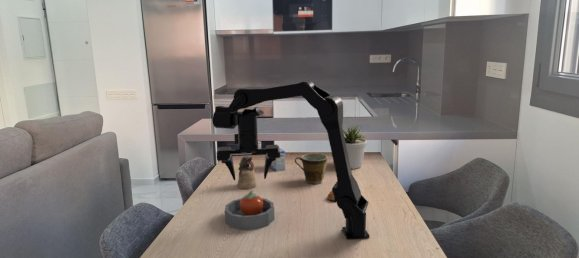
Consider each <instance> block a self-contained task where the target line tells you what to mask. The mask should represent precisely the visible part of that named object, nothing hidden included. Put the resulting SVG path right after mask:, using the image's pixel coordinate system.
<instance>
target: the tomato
mask: <svg viewBox="0 0 579 258" xmlns="http://www.w3.org/2000/svg"><path fill="white" fill-rule="evenodd" d="M262 198H263V197H261V196H260V195H257V194H256V193H254V192H253V191H251V190H250V191H249V193H247V194H246V195H244V196H243V197H242V199H241V198H240V199H241V200H240V209H241V211H242V213H243V214H244V215H245V216H249V215H258V214H260V212H261V211H262V208H263V200H262Z"/></svg>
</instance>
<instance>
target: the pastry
mask: <svg viewBox="0 0 579 258" xmlns="http://www.w3.org/2000/svg"><path fill="white" fill-rule="evenodd" d="M327 197H328V200H331V201H334V200H335V198H334V194H333V192H332V190H331V191H330V192H329V194H328V195H327Z"/></svg>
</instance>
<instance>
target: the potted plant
mask: <svg viewBox="0 0 579 258" xmlns="http://www.w3.org/2000/svg"><path fill="white" fill-rule="evenodd" d="M357 124H358V123H356V124H355V126H351V127H350V126H349V125H347V124H346V125H345V126H346V127H347V132H346V131H345V130H344V129H343V133H344V138H345V142H346V147H347V152H348V157H349V162H350V167H351V170H352V169H359V168H361V167H362V166H363V161H364V156H365V150H366V146H367V142H368V141H367V140H366V135H365V134H361V133H362V131H361V128H359V126H357ZM358 128H359V130H358ZM357 130H358V131H357Z"/></svg>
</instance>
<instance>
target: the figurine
mask: <svg viewBox="0 0 579 258" xmlns="http://www.w3.org/2000/svg"><path fill="white" fill-rule="evenodd" d="M238 165H239V167H238V168H237V170H238V180H237V188H239V189H242V190H250V189H254V188H255V187H257V184H258V183H257V177H256V171H255V170H254V167H255V165H254V162H253V157H252V156H250V157H249V155H246V156H242V157H241V159H240V162H239V163H238Z"/></svg>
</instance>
